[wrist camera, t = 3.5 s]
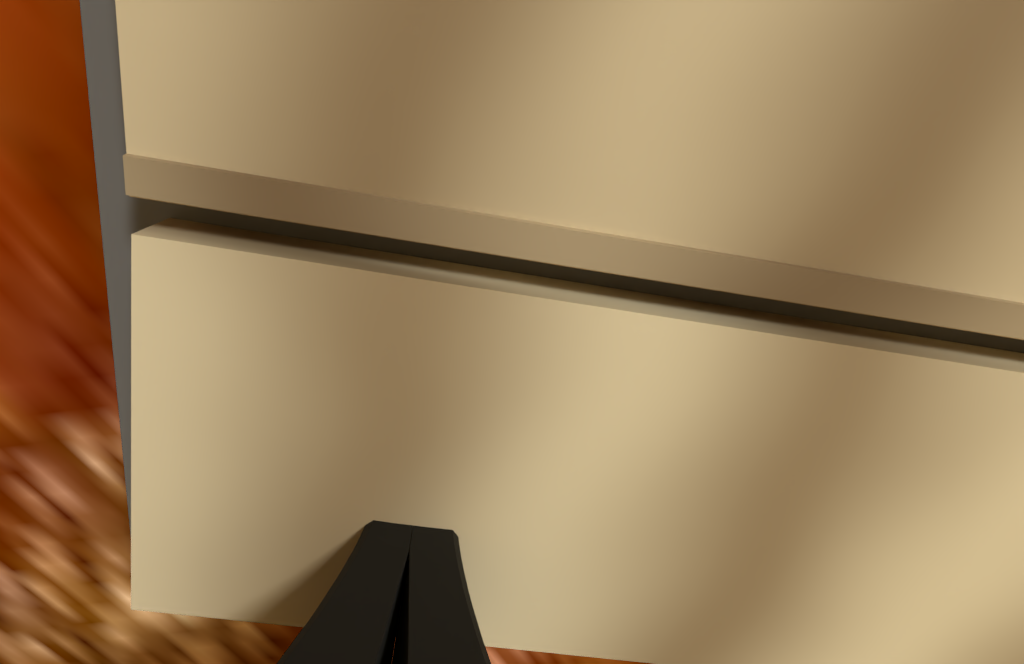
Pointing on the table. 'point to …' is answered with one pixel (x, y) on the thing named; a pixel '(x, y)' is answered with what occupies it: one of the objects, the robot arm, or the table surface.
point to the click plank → (568, 457)
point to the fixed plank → (613, 136)
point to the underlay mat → (341, 235)
